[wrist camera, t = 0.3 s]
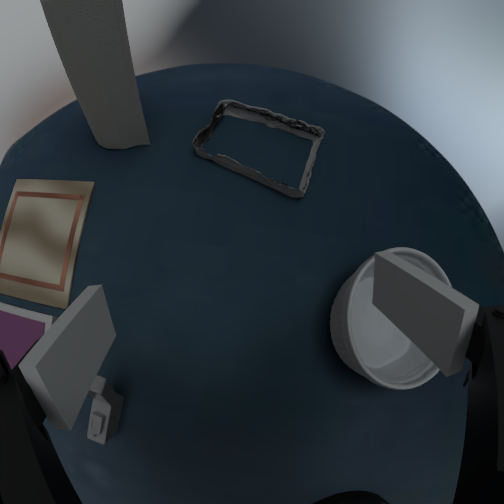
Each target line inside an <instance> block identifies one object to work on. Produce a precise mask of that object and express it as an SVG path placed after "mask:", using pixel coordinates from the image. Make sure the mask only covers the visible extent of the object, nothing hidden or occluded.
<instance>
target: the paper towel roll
mask: <svg viewBox="0 0 504 504" xmlns="http://www.w3.org/2000/svg"><path fill="white" fill-rule="evenodd" d="M40 1H41V4H42V7H43V10H44V14H45V17H46V19H47V23H48V26H49V28H50V31H51V34H52V37H53V40H54V42H55V45H56V48H57V50H58V53H59V55H60V58H61V60H62V63H63V66H64V68H65V71H66V73H67V76H68V78H69V81H70V83H71V85H72V88H73V90H74V92H75V95H76V97H77V99H78V102H79V104H80V106H81V108H82V111H83V113H84V115H85V117H86V119H87V122H88V124H89V126H90V128H91V130H92V132H93V134H94V137H95V139H96V140H97V142H98V144H99V145H101V146H102V147H104V148H106V149H127V148H130V147H133V146H136V145H144V144H146V145H150V141H149V137H148V133H147V128H146V124H145V120H144V115H143V111H142V107H141V102H140V97H139V93H138V88H137V83H136V78H135V74H134V68H133V63H132V58H131V52H130V47H129V41H128V36H127V30H126V23H125V17H124V11H123V3H122V0H40Z"/></svg>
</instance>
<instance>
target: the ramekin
mask: <svg viewBox="0 0 504 504" xmlns="http://www.w3.org/2000/svg"><path fill="white" fill-rule="evenodd" d="M384 251H389V252H391V253H393V254H394V255H396V256H398V257H400V258H402V259H403V260H405V261H407V262H409V263H411V264H412V265H414V266H416V267H418V268H419V269H421V270H423V271H424V272H426V273H428V274H430V275H431V276H433V277H435V278H436V279H438V280H440V281H441V282H443V283H445V284H446V285H448V286H450V287H452V286H451V284H450V281H449V279H448V277H447V276H446V274H445V273H444V271H443V270H442V268H441V267H440V266H439V265H438V264H437V263H436V262H435V261H434V260H433V259H432V258H431V257H429V256H428V255H426V254H424V253H423V252H420V251H418V250H415V249H412V248H407V247H396V248H391V249H387V250H384ZM382 252H383V251H382ZM374 263H375V255H373V256H372V257H370V258H369V259H367V260H366V261H365V262H364V263H363V264H362V265H361V266H360V267H359V268H358V269H357V271H356V272H355V273H354V274H353V275H352V276H350V277H349V278H348V279H347V280H346V282H345V283H344V284H343V285H342V286H341V288H340V290H339V291H338V292H337V296H336V298H335V299H334V303H333V305H332V308H331V313H330V332H331V339H332V341H333V345H334V347H335V349H336V352H337V353H338V354H339V357H340V358H341V359H342V360H343V362H344V363H345V364H347V365H348V367H349V368H351V369H353V370H354V371H355V372H357V373H359V374H360V375H362V376H364V377H366V378H367V379H368V380H370V381H371V382H373V383H375V384H377V385H379V386H382V387H385V388H390V389H398V390H404V389H411V388H414V387H418V386H420V385H422V384H424V383H425V382H427V381H428V380H430V379H431V378H432V377H433V376H434V375H436V374H437V373H438V371H439V370H440V369H439V368H438V367H437V366H436V365H435V364H434V363H433V362H432V361H431V360H430V359H429V358H428V357H427V356H426V355H425V354H424V353H423V352H422V351H421V350H420V349H419V348H418V347H417V346H416V345H415V344H414V343H413V342H412V341H411V340H410V339H409V338H408V337H407V336H405V335H404V334H403V333H402V332H401V331H400V330H399V329H398V328H397V327H396V326H395V325H394V324H393V323H392V322H391V321H390V320H389V319H388V318H387V317H386V316H385V315H384V314H383V313H382V312H381V311H380V310H379V309H377V308H376V307H375V306H374V305H373V304H372V298H373V283H374Z"/></svg>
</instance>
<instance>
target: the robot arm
mask: <svg viewBox="0 0 504 504" xmlns="http://www.w3.org/2000/svg"><path fill="white" fill-rule="evenodd" d="M372 304H373V305H374V306H375V307H376V308H377V309H379V310H380V311H381V312H382V313H383V314H384V315H385V316H386V317H387V318H388V319H389V320H390V321H391V322H392V323H393V324H394V325H395V326H396V327H397V328H398V329H399V330H400V331H401V332H402V333H403V334H404V335H405V336H407V337H408V338H409V339H410V340H411V341H412V342H413V343H414V344H415V345H416V346H417V347H418V348H419V349H420V350H421V351H422V352H423V353H424V354H425V355H426V356H427V357H428V358H429V359H430V360H431V361H432V362H433V363H434V364H435V365H436V366H437V367H438V368H439V369H440V370H441V371H442V373H443V374H444V375H445V376H446V377H448V376H450V375H453V374H455V373H457V372H459V371H461V370H462V367H463V364H464V361H465V358H466V357H467V358H468V359H469V360H470V361H471V364H470V367H469V370H468V373H467V376H466V378H465V381H464V384H463V386H466V383H467V382H468V406H467V420H466V431H465V440H464V447H463V455H462V461H461V467H460V473H459V478H458V483H457V488H456V492H455V497H454V501H453V504H504V306H500V305H492V306H489V307H488V308H485V307H483V306H482V305H480V304H479V303H477V302H476V301H474V300H472V299H471V298H469V297H467V296H466V295H464V294H463V293H462V294H461V292H459V291H458V290H456V289H454V288H453V287H450V286H448V285H446V284H445V283H443V282H441V281H440V280H438V279H436V278H435V277H433V276H431V275H430V274H428V273H426V272H424V271H423V270H421V269H419V268H418V267H416V266H414V265H412V264H411V263H409V262H407V261H405V260H403V259H402V258H400V257H398V256H396V255H394V254H393V253H391V252H389V251H383V252H375V263H374V283H373V298H372ZM115 337H116V333H115V330H114V326H113V323H112V320H111V316H110V313H109V309H108V306H107V302H106V299H105V295H104V291H103V287H102V285H95V286H88V287H87V288H86V289H85V290H84V291H83V292H82V293H81V294H80V295H79V296H78V297H77V298H76V300H75V301H74V302H73V303H72V304H71V305H70V306H69V307H68V308H67V309H66V310H65V311H64V313H63V314H62V315H61V316H60V317H59V318H58V319H57V320H56V321H55V323H54V324H53V325H52V326H51V327H50V328H49V329H48V330H47V332H46V333H45V334H44V335H43V336H42V337H41V338H39V339H38V340H37V341H35V343H34V344H33V345H32V346H31V347H30V349H29V350H28V351H27V352H26V353H25V355H24V356H23V357H22V358H21V359H20V360H19V362H18V363H17V364H16V365H15V367H14V368H13V369H11V367H10V365H9V363H8V361H7V359H6V357H5V355H4V352H3V351H2V350H0V504H82V502H81V500H80V499H79V497H78V495H77V493H76V491H75V490H74V488H73V486H72V484H71V482H70V480H69V478H68V476H67V474H66V472H65V470H64V468H63V466H62V464H61V462H60V460H59V457H58V455H57V453H56V451H55V448H54V446H53V444H52V441H51V439H50V436H49V434H48V431H47V430H46V428H45V427H44V425H43V422H44V420H45V418H46V417H47V418H48V420H49V421H50V423H51V425H52V426H53V428H56V429H62V430H69V431H71V429H72V427H73V425H74V422H75V420H76V418H77V415H78V413H79V411H80V409H81V407H82V404H83V402H84V400H85V398H86V396H87V394H88V391H89V389H90V387H91V385H92V383H93V381H94V379H95V377H96V375H97V373H98V371H99V369H100V366H101V364H102V362H103V360H104V358H105V356H106V355H107V353H108V351H109V349H110V347H111V345H112V343H113V341H114V339H115ZM315 504H389V503H388V502H387V501H385V500H384V499H383V498H381V497H380V496H378V495H376V494H374V493H371V492H364V491H354V492H346V493H342V494H338V495H334V496H331V497H328V498H326V499H323V500H321V501H319V502H317V503H315Z"/></svg>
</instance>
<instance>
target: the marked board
mask: <svg viewBox="0 0 504 504" xmlns="http://www.w3.org/2000/svg"><path fill="white" fill-rule="evenodd" d="M94 187H95V182H83V181H63V180H35V179H17V181H16V183H15V186H14V189H13V192H12V195H11V198H10V201H9V204H8V207H7V211H6V214H5V217H4V221H3V224H2V228H1V232H0V293H1V294H5V295H9V296H13V297H16V298H20V299H24V300H28V301H32V302H36V303H41V304H45V305H49V306H54V307H58V308H63V309H67V308H68V307H69V302H70V295H71V289H72V282H73V276H74V271H75V265H76V260H77V255H78V250H79V245H80V241H81V236H82V232H83V228H84V224H85V220H86V216H87V212H88V208H89V204H90V201H91V197H92V194H93V190H94Z"/></svg>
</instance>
